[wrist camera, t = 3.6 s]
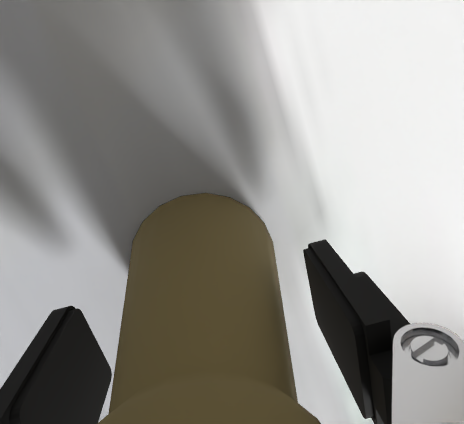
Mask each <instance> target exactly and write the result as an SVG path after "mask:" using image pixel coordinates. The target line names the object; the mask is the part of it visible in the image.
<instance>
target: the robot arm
mask: <svg viewBox="0 0 464 424" xmlns="http://www.w3.org/2000/svg"><path fill="white" fill-rule="evenodd" d="M303 251H304V258H305V263H306V269H307V274H308V279H309V285H310V290H311V295H312V301H313V306H314V311H315V316H316V320H317V322H318V325H319V327H320V329H321V331H322V333H323V335H324V337H325V340H326V342H327V344H328V346H329V348H330V350H331V352H332V354H333V356H334V358H335V360H336V362H337V364H338V366H339V368H340V370H341V372H342V374H343V376H344V379H345V381H346V383H347V385H348V387H349V389H350V391H351V393H352V395H353V397H354V399H355V401H356V403H357V405H358V407H359V409H360V411H361V413H362V415H363V417H364V418H365V419H367V418H372V420H373V422H374V424H464V341H463V340H462V339H461V338H460V337H459V336H458V335H457V334H455V333H453V332H452V331H450V330H449V329H446V328H444V327H441V326H439V325H435V324H429V323H414V324H410V323H409V322H408V321H407V320H406V319H405V317H404V316H403V315H402V314H401V313H400V312H399V311H398V309H397V308H396V307H395V306H394V305H393V304H392V303H391V301H390V300H389V299H388V298H387V297H386V296H385V295H384V293H383V292H382V291H381V290H380V289H379V288H378V287H377V285H376V284H375V283H374V282H373V281H372V280H371V279H370V277H369V276H368V275H367V274H366V273H365V272H359V273H355V274H353V273H352V272H351V270H350V269H349V268H348V267H347V265H346V264H345V263H344V262H343V260H342V259H341V258H340V257H339V255H338V254H337V253H336V252H335V250H334V249H333V248H332V247H331V245H330V244H329V243H328V242H327V241H326V240H321V241H317V242H314V243H310V244H308V249H304V250H303ZM111 376H112V374H111V368H110V366H109V364H108V362H107V360H106V358H105V356H104V354H103V352H102V350H101V348H100V347H99V345H98V343H97V341H96V339H95V337H94V335H93V333H92V331H91V329H90V327H89V325H88V323H87V321H86V319H85V317H84V315H83V313H82V311H81V310H80V309H75V308H74V307H73V306H68V307H64V308H61V309H57V310H54V311H52V312H51V314H50V315H49V317H48V318H47V320H46V321H45V323H44V324H43V326H42V327H41V329H40V330H39V332H38V333H37V335H36V336H35V338H34V339H33V341H32V342H31V344H30V345H29V347H28V348H27V350H26V351H25V353H24V354H23V356H22V357H21V359H20V360H19V362H18V363H17V365H16V366H15V368H14V369H13V371H12V373H11V374H10V376H9V377H8V379H7V380H6V382H5V383H4V385H3V386H2V388H1V389H0V424H97V423H98V421H99V417H100V414H101V411H102V408H103V404H104V401H105V398H106V395H107V391H108V388H109V385H110V382H111Z"/></svg>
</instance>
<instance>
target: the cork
mask: <svg viewBox="0 0 464 424" xmlns="http://www.w3.org/2000/svg"><path fill="white" fill-rule="evenodd" d="M97 424H321V423H320V422H319V420H318V419H317V418H316V417H314V416H313V415H312V414H311V413H309V412H308V411H307V410H306V409H304V408H303V407H302V406H301V405H300V404H298V401H297V394H296V388H295V382H294V375H293V369H292V362H291V356H290V349H289V343H288V336H287V330H286V323H285V317H284V311H283V304H282V298H281V291H280V285H279V278H278V272H277V265H276V259H275V253H274V246H273V241H272V239H271V237H270V234H269V232H268V230H267V228H266V226H265V223H264V222H263V221H262V220H261V219H260V218H259V217H258V216H257V215H256V214H255V213H254V212H253V211H252V210H251V209H250V208H249V207H247V206H245V205H243V204H241V203H239V202H238V201H236V200H234V199H232V198H230V197H226V196H220V195H214V194H208V193H201V194H194V195H186V196H180V197H178V198H176V199H174V200H172V201H169V202H167V203H165V204H163V205H161V206H159V207H158V208H157V209H156V210H155V211H154V212H153V213H152V214H150V215H149V216H148V217H147V218H146V219H145V220H144V221H143V222H142V224H141V226H140V228H139V230H138V232H137V234H136V236H135V238H134V240H133V244H132V251H131V258H130V265H129V272H128V279H127V287H126V294H125V301H124V308H123V315H122V322H121V329H120V337H119V344H118V351H117V358H116V365H115V372H114V379H113V387H112V394H111V401H110V408H109V415H107V416H106V417H105V418H104V419H102V420H101V421H100V422H99V423H97Z"/></svg>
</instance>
